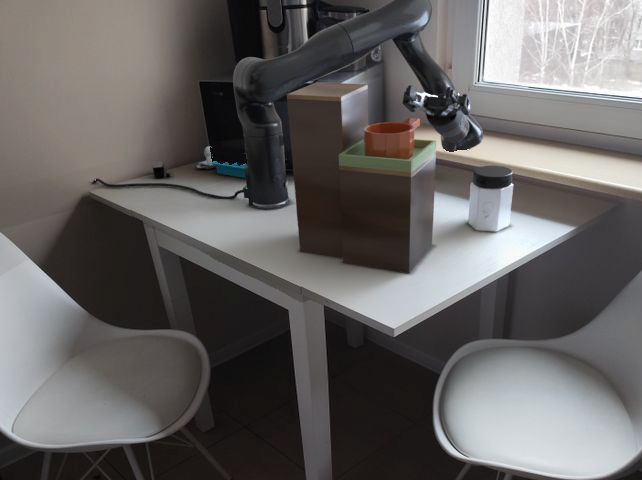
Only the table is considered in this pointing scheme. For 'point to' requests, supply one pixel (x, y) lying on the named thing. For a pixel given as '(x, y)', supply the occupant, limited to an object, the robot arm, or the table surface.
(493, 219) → the jar
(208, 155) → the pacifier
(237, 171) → the ice cube tray
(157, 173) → the wireless earbuds
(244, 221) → the table surface
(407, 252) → the stand
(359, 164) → the tray
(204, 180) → the table surface
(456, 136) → the robot arm
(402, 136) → the saucepan
